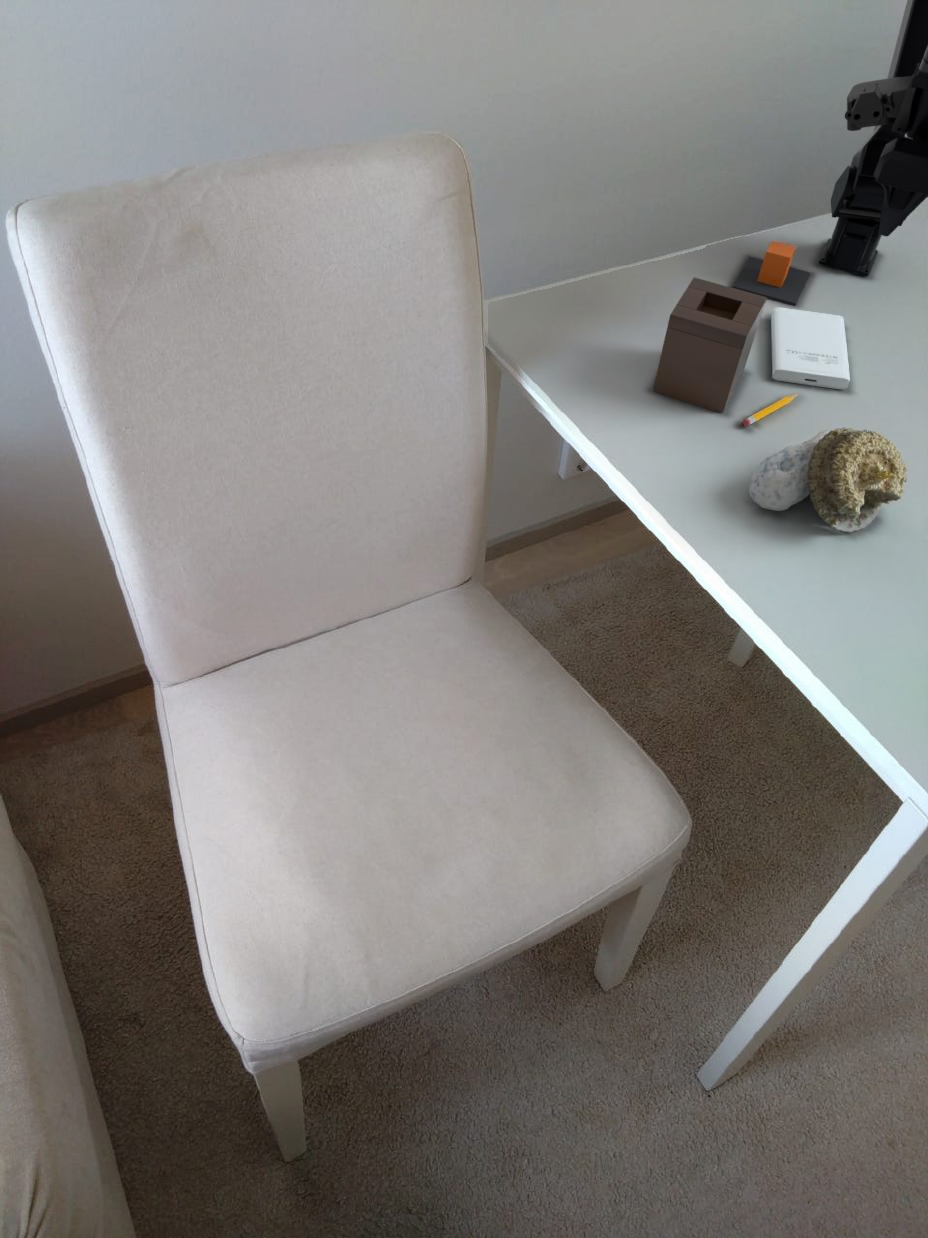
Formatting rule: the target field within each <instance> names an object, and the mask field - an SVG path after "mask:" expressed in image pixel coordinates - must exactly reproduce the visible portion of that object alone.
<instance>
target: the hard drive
mask: <svg viewBox="0 0 928 1238" xmlns="http://www.w3.org/2000/svg"><path fill="white" fill-rule="evenodd" d="M844 320H845V319H844V317H843V316H842V315H839V314H831V313H824V312H816V311H810V310H803V309H795V308H788V307H779V306H778V307H777V306H776V307H774V308H773V309H772V312H771V315H770V329H771V331H770V332H771V369H772V371H771V379H773V380H775V381H779V382H785V383H793V384H799V385H807V386H813V387H819V388H820V387H821V388H827V389H834V390H847V389H848V387H849V385H850V382H851V376H850V367H849V356H848V355H849V354H848V347H847V336H846V335H847V334H846V327H845V321H844Z"/></svg>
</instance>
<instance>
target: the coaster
mask: <svg viewBox="0 0 928 1238" xmlns="http://www.w3.org/2000/svg"><path fill="white" fill-rule="evenodd" d="M763 261H764V259H761V258H758V257H754V256H750V255H749V256H748V258H747V259H746V261H745V263H744V265H743V266H742V268H741V270H740V272H739V273H738V275H737V277H736V279H735V280H734V282H733V284H732V286H731V288H735V289H739V290H742V291H746V292H749V293H753V294H757V295H760V296H764V297H767V299H770V300H774V301H778V302H781V303H785V304H788V305H791V306H796V305H797V303H798V301H799V299H800V297H801V294H802V293H803V290H804V288H805V286H806V284H807V282H808V281H809V278H810V275H811V272H810V271H807V270H803V269H800V268H796V267H792V266H790V268H789V271H788V274H787V276H786V278H785V280H784V282H783V284H782V286H781V288H780V287H776V286H772V285H769V284H765V283H761V282H758V281H757V280H758V277H759V274H760V271H761V267H762V264H763Z"/></svg>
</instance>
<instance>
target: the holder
mask: <svg viewBox="0 0 928 1238" xmlns="http://www.w3.org/2000/svg"><path fill="white" fill-rule="evenodd" d="M767 299H768V298H767V297H764V296H760V295H757V294H753V293H749V292H746V291H742V290H739V289H735V288H732V286H728V285H724V284H720V283H717V282H713V281H709V280H706V279H702V278H699V277H694V276H693V278H692V279H691V280H690V282H689V284H688V285H687V287H686V289H685V290H684V292H683V294H681V297H680V298H679V300H678V302H677V303H676V304H675V306H674V308H673V309H672V311H671V313H670V314H669V318H668V322H667V327H666V330H665V335H664V340H663V344H662V348H661V352H660V356H659V361H658V364H657V365H658V366H657V370H656V375H655V378H654V383H653V387H652V392H655V393H658V394H662V395H665V396H668V397H671V398H674V399H677V400H680V401H683V402H686V403H690V404H693V405H697V406H700V407H702V408H705V409H709V410H712V411H715V412H717V413H722V414H724V412H725V410H726V409H727V407H728V404H729V403H730V400H731V398H732V396H733V394H734V392H735V391H736V388H737V386H738V384H739V382H740V380H741V377H742V376H743V373H744V371H745V368H746V366H747V365H746V364H747V362H748V359H749V356H750V354H751V349H752V346H753V343H754V340H755V337H756V334H757V330H758V328H759V325H760V321H761V318H762V315H763V313H764V309H765V306H766V303H767Z"/></svg>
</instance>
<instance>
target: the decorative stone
mask: <svg viewBox="0 0 928 1238" xmlns="http://www.w3.org/2000/svg"><path fill="white" fill-rule="evenodd" d="M834 430H835V429H825V430H820V431H819V432H818V433H817V434H816V435H815V436H813V437H812V438H810V439H808V440H805V441H803V442H802V443H801V444H795V445H790V446H787V447H785V448H783V449H782V450H780V451H778V452H775V453H774V454H772V455H769V456H768V457H766V458H765V459H764V460H763V461H761V462H760V464H759V465H758V466H757V467H756V469H755V470H754V472H753V475H752V476H751V479H750V484H749V485H750V486H749V489H748V490H749V493H748V494H749V496H750V498H751V499H752V500H753V502H755V503H756V504H757V505H758V506H759V507H760V508H761V509H764V510H765V509H766V510H771V511H776V512H777V511H778V512H780V511H785V510H788V509H789V508H790V507H791V506H793V505H796V504H797V503H799V502H801V501H803V500H804V499H806V498H807V497H808V496H810V494H809V491H808V484H807V482H808V481H807V478H808V473H807V472H808V467H809V466H808V463H809V461H810V458H811V454H812V452H813V449H814V447H815V446H816V445H817V444H818V442H819V440H820V439H822V438H823V437H824V435H825V434H828V433H829V432H830V431H834Z"/></svg>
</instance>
